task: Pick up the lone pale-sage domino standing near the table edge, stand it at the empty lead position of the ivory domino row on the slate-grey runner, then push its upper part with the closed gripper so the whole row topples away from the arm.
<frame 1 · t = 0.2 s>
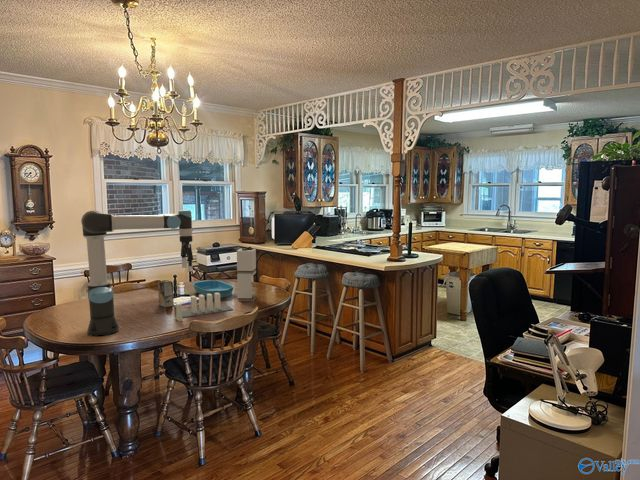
hand: (187, 269, 262), 27 cm above the table, fingers open, 13 cm apart
domino 5: (217, 308, 271), point 1 cm above the table, touching runner mat
casserole dish: (213, 294, 312), on the table
gray square tower: (247, 299, 297), on the table
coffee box: (166, 305, 281), on the table
domino 2: (194, 312, 263), point 1 cm above the table, touching runner mat
domino 4: (210, 309, 268), point 1 cm above the table, touching runner mat
domino 3: (202, 311, 265), point 1 cm above the table, touching runner mat
runner mat: (205, 311, 267), on the table
domino 1: (179, 319, 250), on the table
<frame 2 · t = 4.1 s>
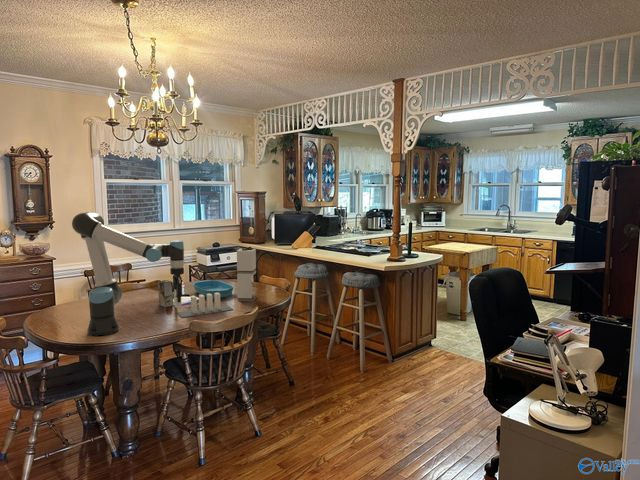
hand: (177, 306, 249), 8 cm above the table, fingers closed on domino 1, 5 cm apart
domino 1: (177, 306, 249), point 8 cm above the table, touching gripper
everything else where it was.
when the fingers open (1 cm above the table, at t = 7.6 s): domino 1 stays where it is, resting on runner mat.
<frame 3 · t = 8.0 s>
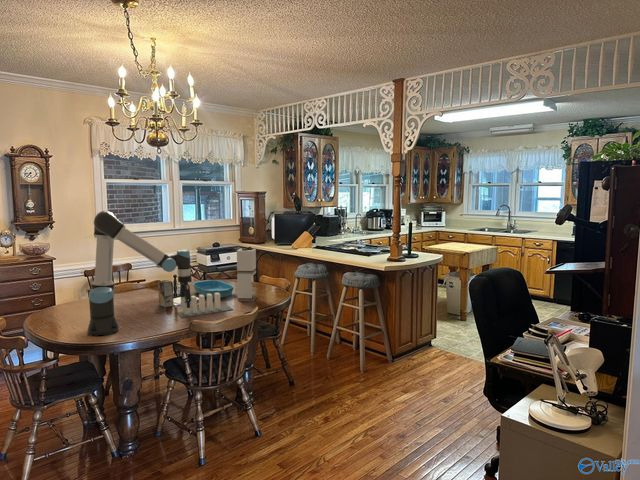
hand: (185, 310, 260), 3 cm above the table, fingers open, 11 cm apart
domino 1: (185, 313, 260), point 1 cm above the table, touching runner mat
everything else where it was.
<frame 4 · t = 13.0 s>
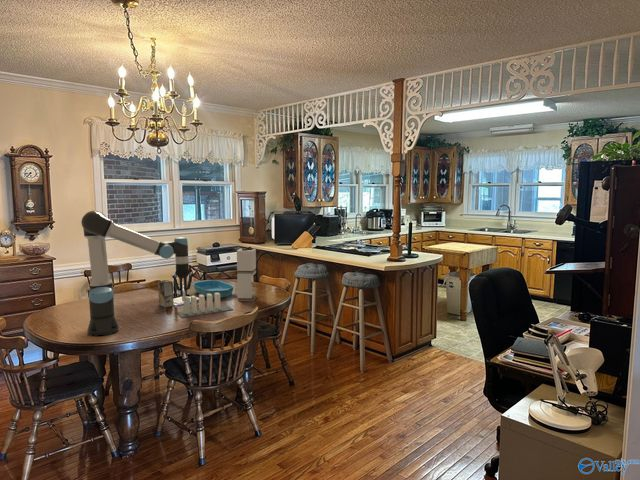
hand: (183, 300, 259), 9 cm above the table, fingers closed
domino 1: (185, 313, 260), point 1 cm above the table, tilted 8°, touching gripper, runner mat
everything else where it was.
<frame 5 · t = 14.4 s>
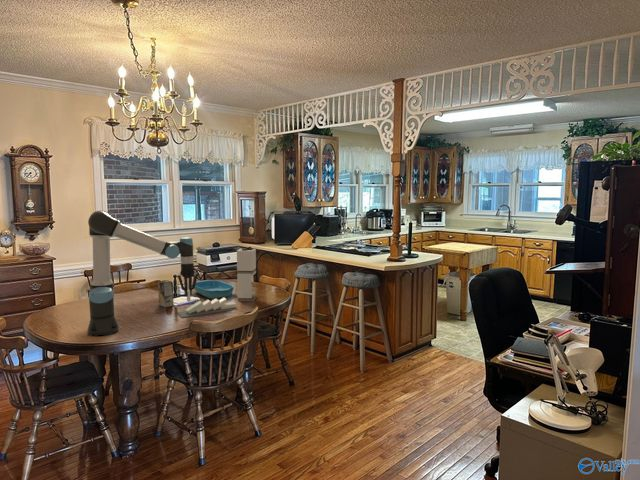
hand: (188, 300, 260), 8 cm above the table, fingers closed
domino 5: (220, 306, 271), point 2 cm above the table, tilted 90°, touching domino 4, runner mat
domino 2: (195, 310, 263), point 2 cm above the table, tilted 65°, touching domino 1, domino 3
domino 4: (212, 308, 269), point 2 cm above the table, tilted 64°, touching domino 3, domino 5
domino 3: (203, 309, 266), point 2 cm above the table, tilted 65°, touching domino 2, domino 4, runner mat
domino 1: (187, 311, 261), point 2 cm above the table, tilted 65°, touching domino 2, runner mat
everything else where it was.
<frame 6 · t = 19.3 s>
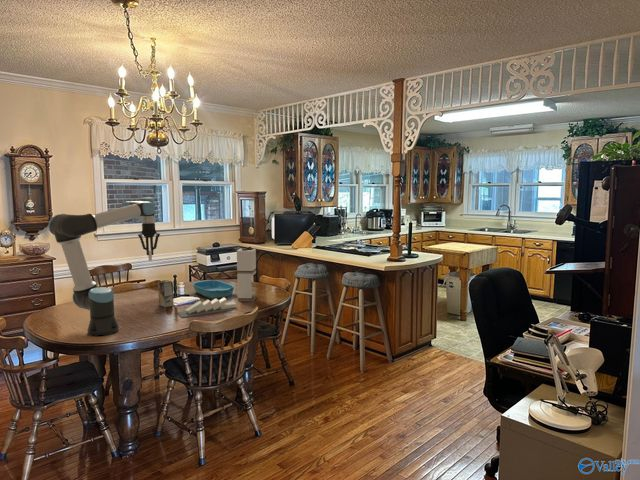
hand: (150, 260, 264), 32 cm above the table, fingers closed
domino 4: (212, 308, 269), point 2 cm above the table, tilted 64°, touching domino 3, domino 5, runner mat
everything else where it was.
at the end: domino 5 tilted 90°; domino 1 tilted 65°; the gripper is holding nothing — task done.
